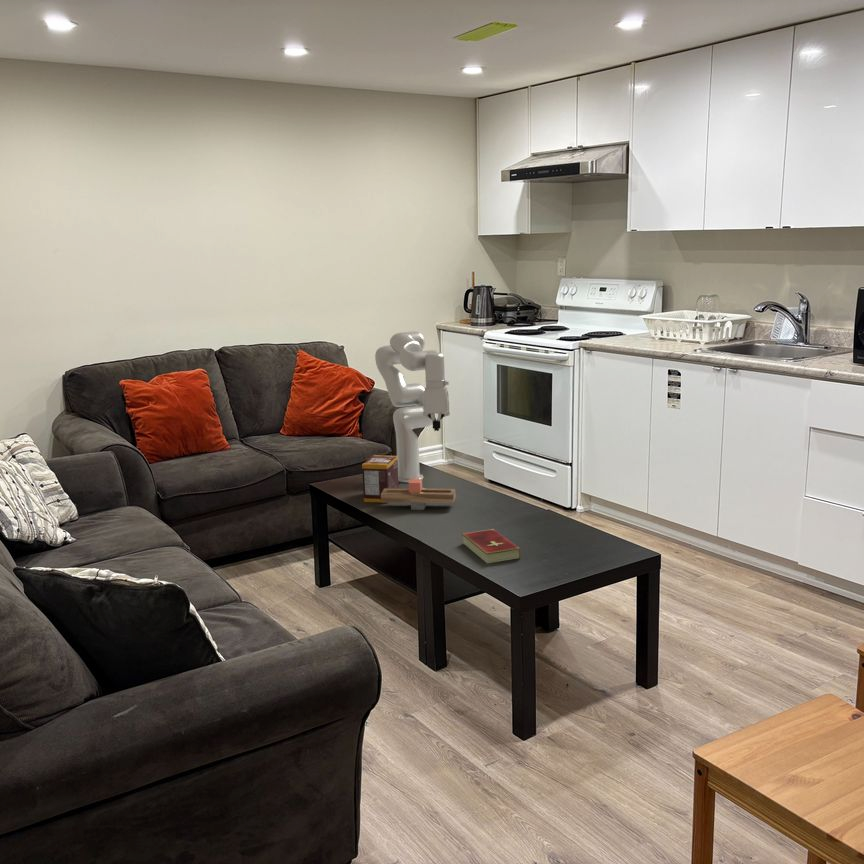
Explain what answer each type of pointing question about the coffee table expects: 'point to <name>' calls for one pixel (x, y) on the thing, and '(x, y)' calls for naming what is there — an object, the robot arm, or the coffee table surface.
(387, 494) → the beam
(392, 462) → the supplement box
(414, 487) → the block
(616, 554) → the coffee table surface
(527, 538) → the coffee table surface
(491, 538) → the hardcover book
